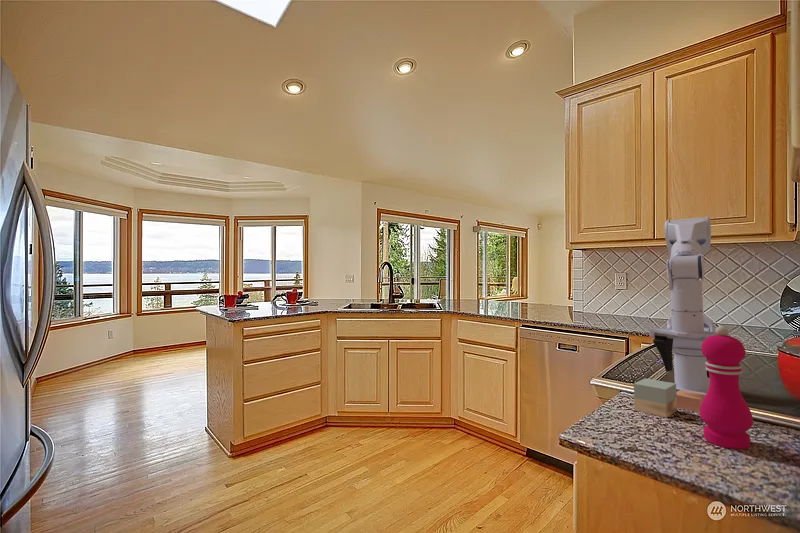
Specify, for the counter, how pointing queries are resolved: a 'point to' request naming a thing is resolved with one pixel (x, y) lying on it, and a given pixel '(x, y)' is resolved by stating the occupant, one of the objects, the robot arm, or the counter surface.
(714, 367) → the pepper mill
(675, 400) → the base block
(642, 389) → the middle block
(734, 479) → the counter surface
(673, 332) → the robot arm
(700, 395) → the terracotta block
